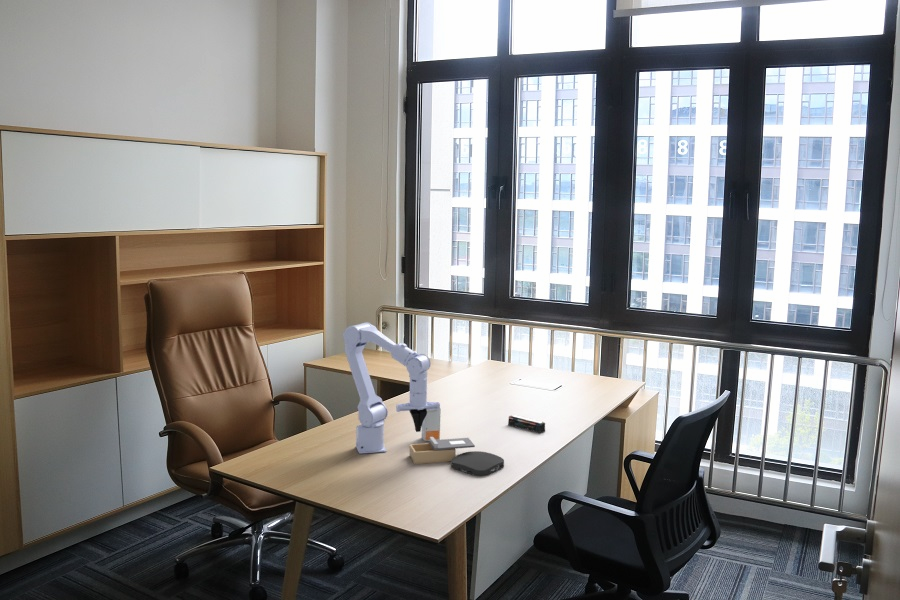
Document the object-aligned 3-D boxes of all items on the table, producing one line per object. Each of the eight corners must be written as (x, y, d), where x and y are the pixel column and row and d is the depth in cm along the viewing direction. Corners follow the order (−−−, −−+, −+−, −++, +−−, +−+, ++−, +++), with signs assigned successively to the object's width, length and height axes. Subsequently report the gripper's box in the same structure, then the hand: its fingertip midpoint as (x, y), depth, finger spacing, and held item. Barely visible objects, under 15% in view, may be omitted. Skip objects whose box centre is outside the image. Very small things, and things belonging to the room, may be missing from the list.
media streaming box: (473, 455, 264) (473, 447, 264) (508, 466, 255) (508, 457, 255) (446, 467, 253) (446, 459, 253) (482, 479, 244) (482, 470, 244)
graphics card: (540, 439, 283) (540, 428, 282) (485, 425, 299) (486, 414, 298) (561, 430, 294) (561, 419, 293) (507, 416, 310) (508, 406, 309)
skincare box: (424, 441, 277) (424, 409, 275) (421, 437, 281) (421, 406, 279) (440, 440, 278) (440, 408, 277) (437, 436, 282) (437, 404, 281)
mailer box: (414, 464, 255) (414, 452, 254) (409, 455, 262) (409, 444, 262) (455, 460, 258) (455, 449, 258) (449, 452, 266) (449, 441, 265)
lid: (434, 450, 256) (434, 444, 256) (428, 442, 264) (428, 436, 263) (474, 447, 259) (474, 441, 259) (468, 439, 267) (468, 433, 267)
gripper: (399, 395, 250) (398, 436, 252) (442, 393, 254) (441, 433, 256) (395, 390, 257) (394, 429, 259) (437, 387, 261) (436, 426, 263)
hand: (417, 430), depth 258 cm, fingers closed
